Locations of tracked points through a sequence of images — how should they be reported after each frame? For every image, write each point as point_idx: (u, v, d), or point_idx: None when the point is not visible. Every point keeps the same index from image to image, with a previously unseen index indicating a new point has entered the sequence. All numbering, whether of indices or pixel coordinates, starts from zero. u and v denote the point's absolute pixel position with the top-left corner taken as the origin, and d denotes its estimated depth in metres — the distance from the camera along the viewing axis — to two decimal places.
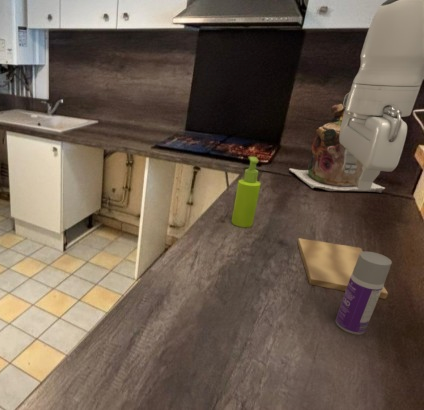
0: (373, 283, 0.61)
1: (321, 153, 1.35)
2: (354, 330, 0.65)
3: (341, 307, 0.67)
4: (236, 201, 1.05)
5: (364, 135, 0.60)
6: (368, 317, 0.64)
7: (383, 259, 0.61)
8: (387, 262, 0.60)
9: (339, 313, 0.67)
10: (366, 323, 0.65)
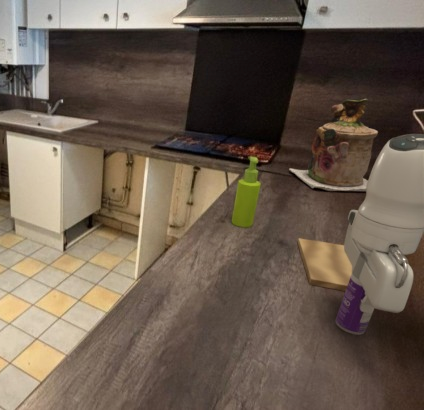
0: None
1: (321, 153, 1.35)
2: (354, 330, 0.65)
3: (341, 307, 0.67)
4: (236, 201, 1.05)
5: (369, 265, 0.60)
6: (368, 317, 0.64)
7: None
8: None
9: (339, 313, 0.67)
10: (366, 323, 0.65)
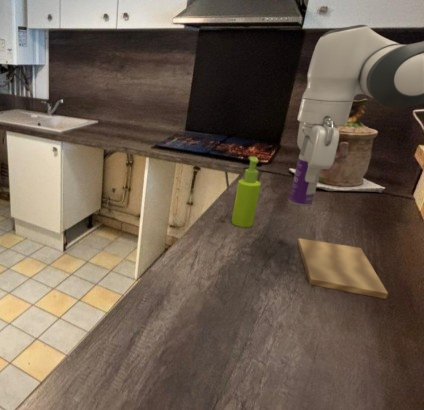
0: None
1: None
2: (302, 202, 0.79)
3: (292, 185, 0.81)
4: (236, 201, 1.05)
5: (310, 139, 0.74)
6: (312, 189, 0.78)
7: None
8: None
9: (291, 191, 0.81)
10: (311, 195, 0.79)
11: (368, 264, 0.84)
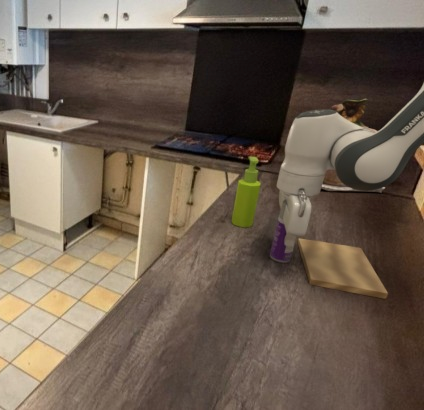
0: None
1: None
2: (281, 259, 0.88)
3: (272, 243, 0.89)
4: (236, 201, 1.05)
5: (288, 206, 0.82)
6: (290, 248, 0.86)
7: None
8: None
9: (271, 248, 0.90)
10: (289, 253, 0.87)
11: (368, 264, 0.84)
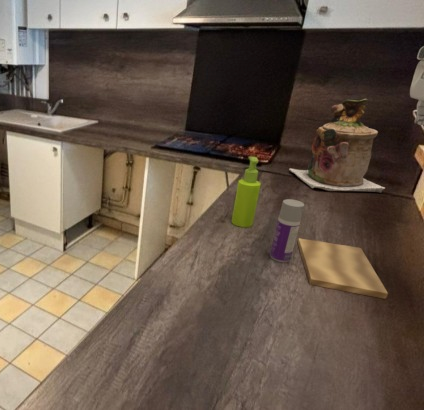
0: (291, 221, 0.83)
1: (321, 153, 1.35)
2: (281, 259, 0.88)
3: (272, 243, 0.89)
4: (236, 201, 1.05)
5: None
6: (290, 248, 0.86)
7: (299, 203, 0.83)
8: (301, 205, 0.83)
9: (271, 248, 0.90)
10: (289, 253, 0.87)
11: (368, 264, 0.84)
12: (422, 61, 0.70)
